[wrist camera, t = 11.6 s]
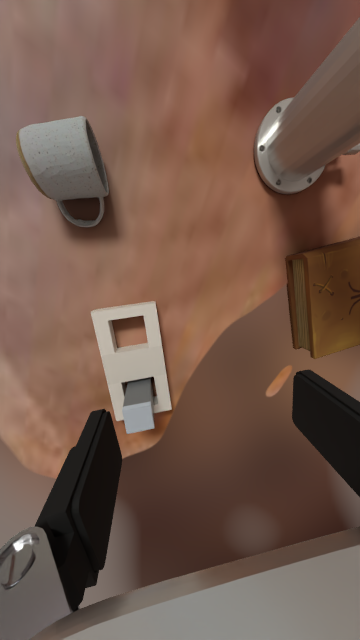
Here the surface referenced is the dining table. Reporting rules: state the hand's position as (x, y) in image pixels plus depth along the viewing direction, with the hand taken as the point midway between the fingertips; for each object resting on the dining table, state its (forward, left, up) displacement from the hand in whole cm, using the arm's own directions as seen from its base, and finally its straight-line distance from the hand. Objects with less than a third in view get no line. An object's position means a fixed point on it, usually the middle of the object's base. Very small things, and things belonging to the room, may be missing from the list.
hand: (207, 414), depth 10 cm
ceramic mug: (+9, -20, -26) cm, 34 cm away
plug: (+6, +13, -26) cm, 29 cm away
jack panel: (+6, +7, -26) cm, 27 cm away
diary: (-36, 0, -26) cm, 44 cm away
